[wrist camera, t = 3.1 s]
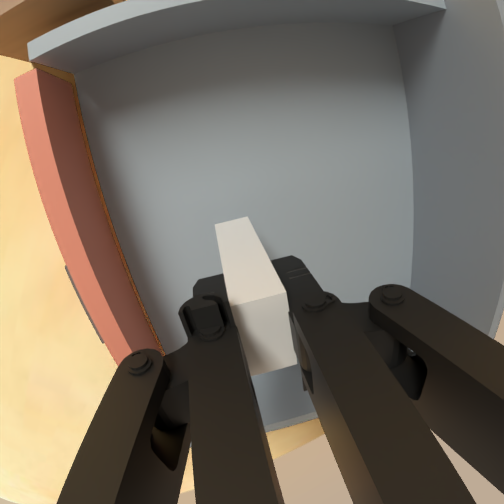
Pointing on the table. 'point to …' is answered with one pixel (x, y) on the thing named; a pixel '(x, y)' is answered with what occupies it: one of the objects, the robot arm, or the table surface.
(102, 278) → the panel
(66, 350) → the table surface
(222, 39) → the truck bed
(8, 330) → the table surface
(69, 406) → the table surface
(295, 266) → the robot arm
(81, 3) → the walnut block
